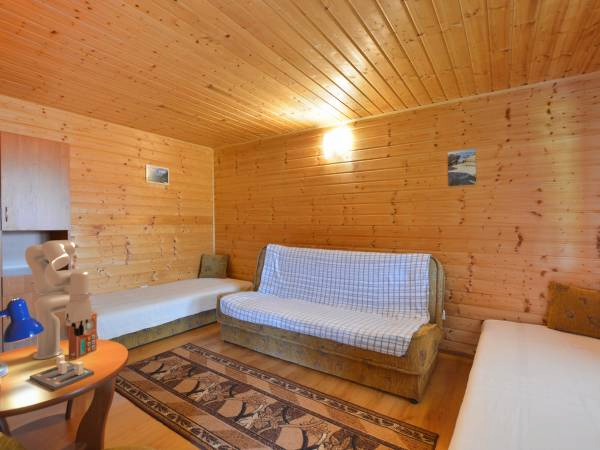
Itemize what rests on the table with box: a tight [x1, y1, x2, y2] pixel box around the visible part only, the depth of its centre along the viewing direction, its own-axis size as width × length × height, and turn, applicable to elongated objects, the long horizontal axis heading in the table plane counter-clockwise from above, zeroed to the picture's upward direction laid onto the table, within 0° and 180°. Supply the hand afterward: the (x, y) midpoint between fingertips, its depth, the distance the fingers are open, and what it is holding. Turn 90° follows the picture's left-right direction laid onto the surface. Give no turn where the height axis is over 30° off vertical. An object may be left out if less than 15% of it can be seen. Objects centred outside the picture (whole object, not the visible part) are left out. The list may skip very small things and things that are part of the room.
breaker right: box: [74, 360, 84, 375], centre depth 143 cm, size 3×2×5 cm, turn 64°
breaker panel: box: [29, 361, 95, 391], centre depth 144 cm, size 21×16×2 cm
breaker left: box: [56, 354, 66, 367], centre depth 150 cm, size 3×2×5 cm, turn 64°
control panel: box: [68, 311, 98, 360], centre depth 169 cm, size 21×7×15 cm
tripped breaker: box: [58, 360, 68, 374], centre depth 144 cm, size 3×2×5 cm, turn 64°
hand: (79, 335), depth 150 cm, fingers closed
